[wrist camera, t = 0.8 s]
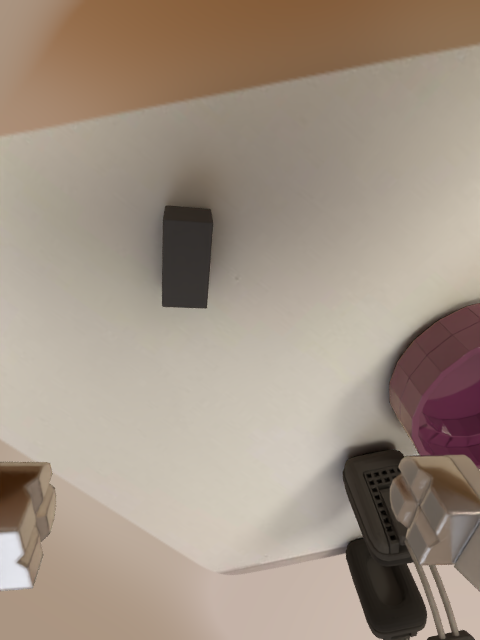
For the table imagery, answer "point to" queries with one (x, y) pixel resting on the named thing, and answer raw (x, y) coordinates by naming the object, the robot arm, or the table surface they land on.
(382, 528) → the headphones
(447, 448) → the bowl
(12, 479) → the robot arm
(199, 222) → the eraser
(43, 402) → the table surface
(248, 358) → the table surface
